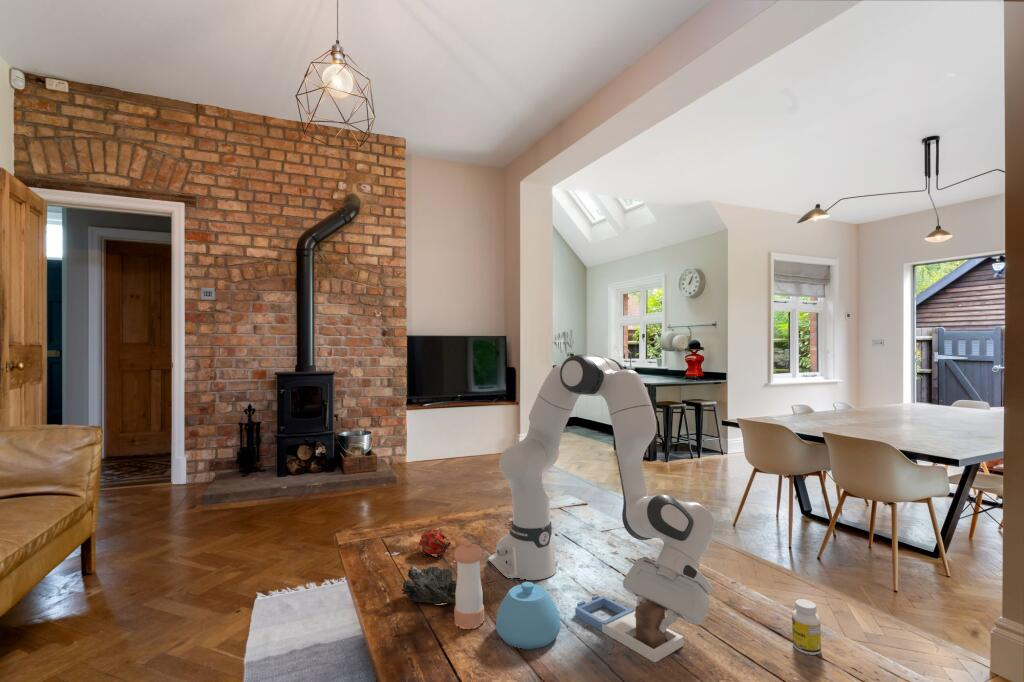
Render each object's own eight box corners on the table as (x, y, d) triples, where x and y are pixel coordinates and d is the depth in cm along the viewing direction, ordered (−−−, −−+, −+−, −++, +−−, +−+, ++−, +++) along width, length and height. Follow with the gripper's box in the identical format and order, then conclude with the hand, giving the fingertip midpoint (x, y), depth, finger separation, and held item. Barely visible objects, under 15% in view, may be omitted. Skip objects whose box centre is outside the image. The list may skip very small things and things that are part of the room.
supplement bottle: (787, 642, 115) (786, 598, 115) (810, 640, 115) (809, 596, 116) (803, 656, 110) (801, 610, 110) (827, 655, 110) (826, 608, 110)
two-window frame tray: (573, 614, 128) (573, 604, 128) (601, 602, 134) (601, 592, 134) (654, 662, 108) (654, 651, 108) (683, 645, 114) (683, 634, 114)
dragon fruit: (424, 552, 172) (446, 568, 164) (407, 544, 167) (430, 559, 159) (437, 529, 175) (460, 543, 167) (422, 520, 170) (445, 534, 162)
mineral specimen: (397, 593, 130) (412, 552, 135) (398, 597, 141) (413, 559, 146) (454, 613, 129) (468, 571, 135) (451, 616, 140) (464, 576, 146)
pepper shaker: (456, 613, 130) (455, 537, 130) (485, 613, 129) (484, 536, 130) (452, 629, 122) (451, 548, 122) (483, 629, 122) (481, 548, 122)
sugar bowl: (511, 660, 110) (510, 605, 110) (486, 625, 124) (485, 577, 124) (572, 642, 116) (571, 591, 116) (542, 612, 130) (541, 565, 130)
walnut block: (636, 642, 116) (635, 606, 116) (649, 635, 118) (648, 600, 119) (652, 651, 112) (651, 614, 112) (665, 644, 115) (664, 608, 115)
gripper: (633, 547, 128) (606, 599, 122) (707, 576, 111) (681, 638, 106) (645, 561, 131) (620, 612, 125) (720, 591, 114) (694, 652, 108)
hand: (648, 624), depth 115 cm, fingers closed on walnut block, 4 cm apart
